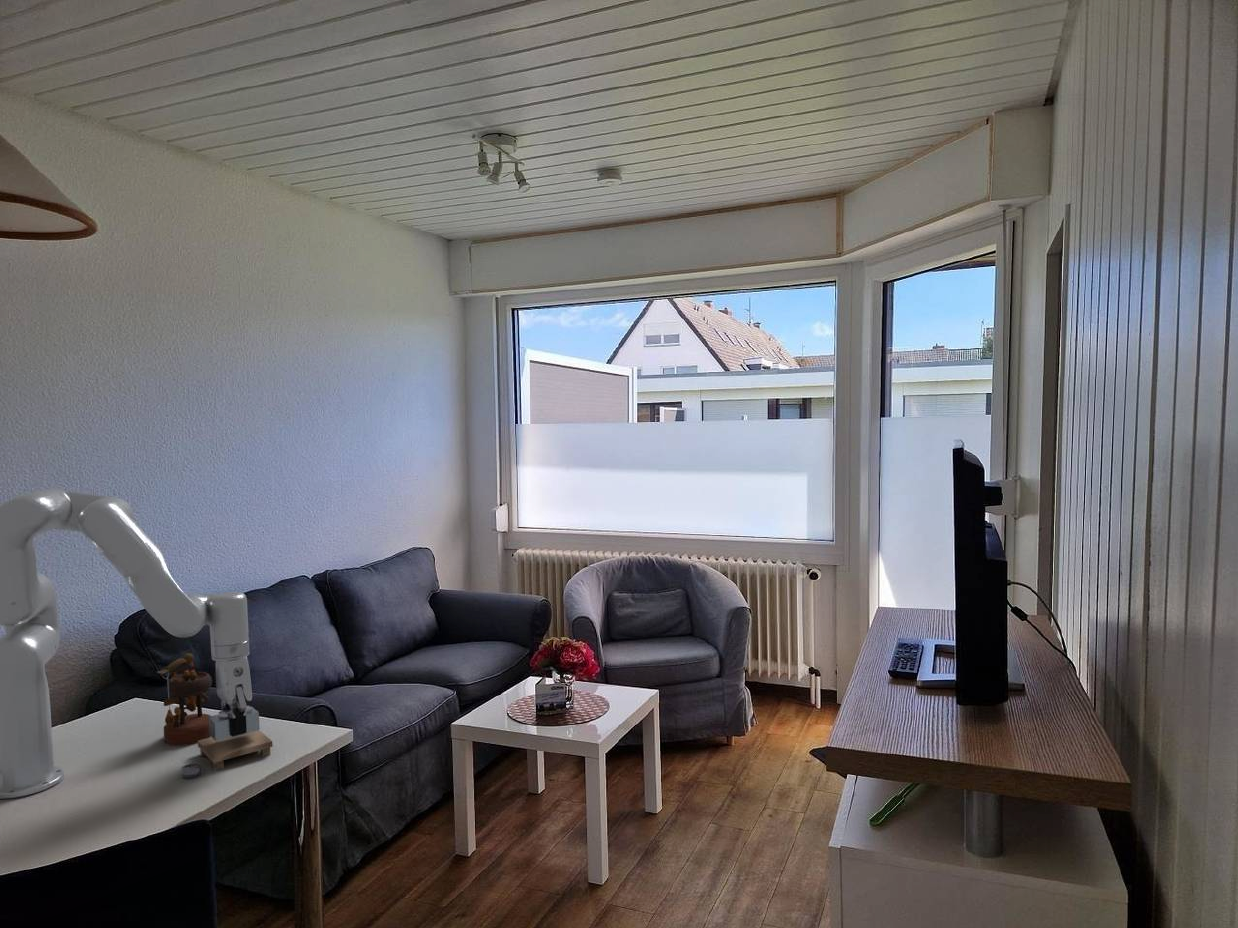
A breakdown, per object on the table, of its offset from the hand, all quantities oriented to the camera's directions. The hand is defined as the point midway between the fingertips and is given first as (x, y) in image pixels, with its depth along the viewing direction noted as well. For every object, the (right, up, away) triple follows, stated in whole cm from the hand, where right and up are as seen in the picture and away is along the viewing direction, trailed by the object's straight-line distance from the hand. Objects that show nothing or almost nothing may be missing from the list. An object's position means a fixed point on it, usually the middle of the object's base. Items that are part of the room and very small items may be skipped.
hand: (234, 729), depth 177 cm
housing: (0, -1, 0) cm, 1 cm away
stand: (0, -5, 0) cm, 5 cm away
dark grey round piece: (-4, -6, -10) cm, 13 cm away
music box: (-16, -5, +12) cm, 20 cm away
